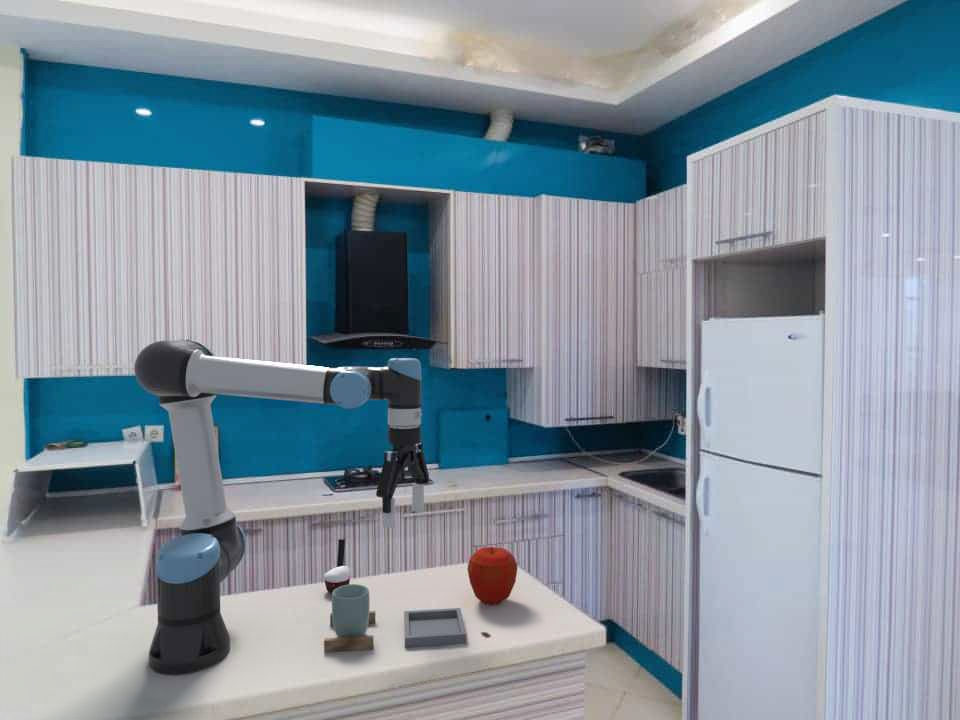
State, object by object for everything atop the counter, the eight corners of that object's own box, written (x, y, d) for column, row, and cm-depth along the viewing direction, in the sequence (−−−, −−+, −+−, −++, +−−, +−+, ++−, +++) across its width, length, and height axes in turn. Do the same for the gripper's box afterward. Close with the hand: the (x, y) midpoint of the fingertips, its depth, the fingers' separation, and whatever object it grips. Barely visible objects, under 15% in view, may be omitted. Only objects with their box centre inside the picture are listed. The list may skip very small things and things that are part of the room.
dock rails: (324, 652, 130) (324, 640, 130) (330, 624, 143) (330, 613, 143) (373, 649, 131) (373, 637, 131) (375, 621, 144) (375, 610, 144)
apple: (479, 617, 146) (479, 557, 146) (459, 597, 157) (459, 541, 157) (526, 607, 151) (526, 549, 151) (504, 589, 162) (504, 535, 162)
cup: (353, 624, 143) (353, 581, 142) (376, 635, 138) (376, 590, 137) (325, 637, 137) (324, 592, 136) (348, 648, 132) (347, 601, 131)
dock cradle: (404, 647, 132) (404, 638, 132) (404, 619, 145) (404, 611, 145) (466, 643, 134) (466, 634, 134) (460, 616, 147) (460, 607, 147)
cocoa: (337, 601, 156) (337, 554, 155) (316, 596, 159) (316, 550, 157) (359, 585, 165) (359, 541, 164) (339, 581, 167) (339, 537, 166)
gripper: (390, 435, 130) (390, 536, 131) (443, 420, 154) (442, 506, 154) (359, 432, 133) (359, 531, 134) (415, 418, 156) (415, 503, 157)
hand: (404, 518), depth 144 cm, fingers open, 13 cm apart
